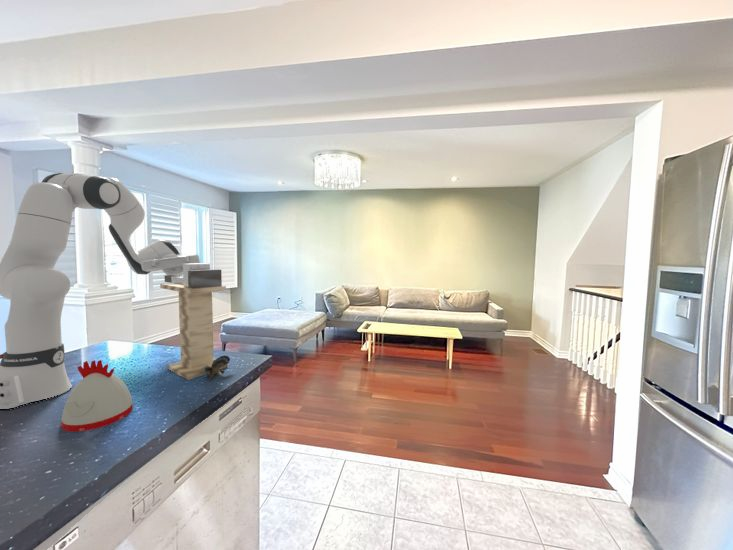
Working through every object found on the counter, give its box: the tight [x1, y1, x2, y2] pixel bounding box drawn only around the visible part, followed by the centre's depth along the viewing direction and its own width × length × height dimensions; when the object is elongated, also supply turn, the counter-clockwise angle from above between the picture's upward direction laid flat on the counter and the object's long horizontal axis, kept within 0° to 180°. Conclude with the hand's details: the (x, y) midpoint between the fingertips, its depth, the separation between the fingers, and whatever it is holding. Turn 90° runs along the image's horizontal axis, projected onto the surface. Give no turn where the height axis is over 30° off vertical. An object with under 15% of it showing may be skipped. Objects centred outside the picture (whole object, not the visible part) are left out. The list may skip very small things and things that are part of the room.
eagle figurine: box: [201, 355, 231, 381], centre depth 105 cm, size 8×7×9 cm
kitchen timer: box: [60, 359, 134, 433], centre depth 78 cm, size 14×14×15 cm
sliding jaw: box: [164, 262, 211, 287], centre depth 114 cm, size 26×7×8 cm, turn 55°
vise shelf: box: [159, 268, 228, 381], centre depth 111 cm, size 24×14×37 cm, turn 55°
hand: (170, 259), depth 117 cm, fingers open, 8 cm apart
